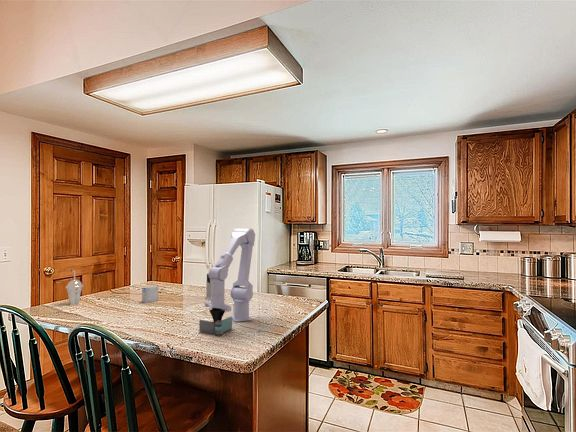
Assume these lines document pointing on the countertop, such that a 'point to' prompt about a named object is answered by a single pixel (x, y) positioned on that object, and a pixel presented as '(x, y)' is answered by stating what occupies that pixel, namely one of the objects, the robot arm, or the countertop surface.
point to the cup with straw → (74, 290)
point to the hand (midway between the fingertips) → (217, 325)
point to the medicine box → (149, 294)
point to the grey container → (208, 288)
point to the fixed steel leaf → (210, 327)
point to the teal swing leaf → (225, 325)
